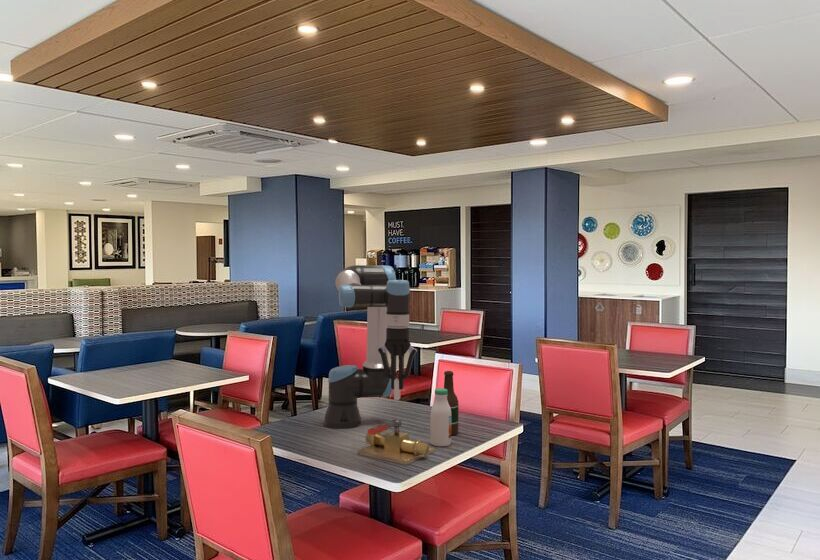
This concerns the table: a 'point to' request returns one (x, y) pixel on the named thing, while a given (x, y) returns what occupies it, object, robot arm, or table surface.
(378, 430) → the lever
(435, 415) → the milk bottle
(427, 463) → the table surface
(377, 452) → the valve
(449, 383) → the beer bottle
